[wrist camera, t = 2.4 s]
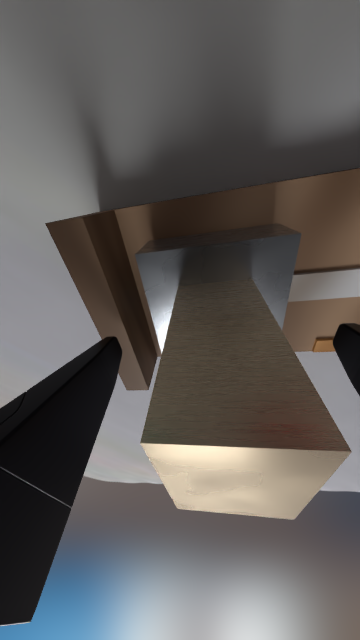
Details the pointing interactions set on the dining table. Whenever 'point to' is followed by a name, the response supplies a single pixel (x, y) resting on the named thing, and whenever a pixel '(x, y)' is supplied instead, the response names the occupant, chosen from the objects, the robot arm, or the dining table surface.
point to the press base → (211, 216)
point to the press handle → (232, 377)
